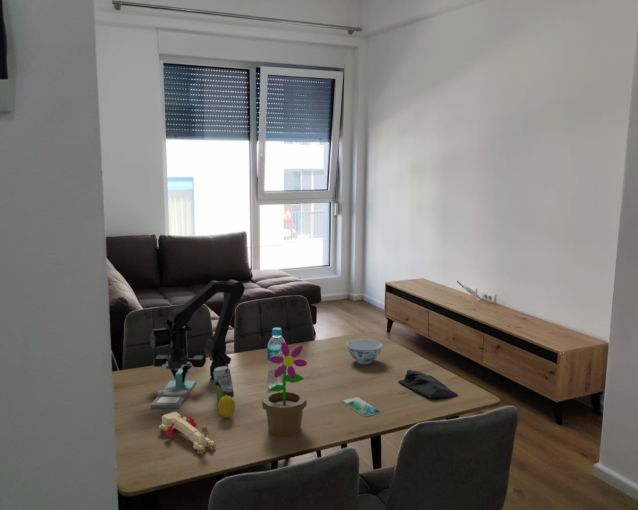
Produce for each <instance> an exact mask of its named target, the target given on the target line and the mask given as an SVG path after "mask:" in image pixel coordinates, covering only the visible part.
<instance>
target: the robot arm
mask: <svg viewBox="0 0 638 510" xmlns="http://www.w3.org/2000/svg"><path fill="white" fill-rule="evenodd" d="M218 293H223V294H222V295H223V303H222V308H221V311H220V314H219V317H218V320H217V324H216V328H215V330H214V333H213V336H212V337H211V338H210V339H209V338H207V339H206V343H205V345H204V347H203V349H204V354H205V355H206V356H205V355H194V357H191V358H190V357H189V353H188V346H189V345H188V338H187V335H188V332H189V331H192V330H193V328H191V326H189V324H188V323H189V322H190V321H191V320H192V318H193V316H194V314H195V313H196V312H197V311H199V309H200V308H201V307H202V306H203V305H204V304H206V303H207V302H208V301H209V300H210V299H211V298H213V297H214V296H215V295H216V294H218ZM244 293H245V285H244V284H243V283H242V282H241V281H238V280H235V279H229V280H227V281H223V280H210V282H208V284H207V285H206V286H204V287H203V288H202V289H201V290H200V291H199V292H197V293H196V294H195V295H194V296H193V297H191V299H189V300H188V301H187V302H185V303H184V304H182V305H181V304H180V305H179V306H177V307H175V308H173V309H172V310H170V311H169V312H168V316H167V319H166V321H165V322H164V324H163V325H162V328H153V329H151V333H150V336H149V343H150V346H151V347H152V349H157V348H162V347H167V346H170V345H171V347H170V353H169V355H168V354H158V355H157V356H156V357H155V358H154V359H153V361H152V362H153V364H152V365H153V367H154V368H155V367H156V368H157V367H162V366H163V365H164V364H166V366H165V368H166V369H167V370H170V371H171V373H172V375H173V378H174V379H175V374H176V373H177V372H178V370H179V369H183V383H184V382H185V381H186V378H187V376H188V373H189V370H191V368H192V367H193V368H203V367H204V366H205V364H206V362H207V359H206V357H207V358H208V359H209V361H211V363H210V366H209V375H210V380H214V376H213V372H214V369H215V368H217V367H221V366H227V367H228V369H229V365H230V364H231V362H232V358H231V357H230V356H229V355H227V354H226V352H227V343H226V339H227V335H228V332H229V329H230V325H231V321H232V319H233V315H234V311H235V309H236V306H237V304H238V303H239V301H240V300H241V299H242V297H243V295H244ZM188 357H189V358H188ZM229 370H230V369H229Z"/></svg>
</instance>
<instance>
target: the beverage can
mask: <svg viewBox="0 0 638 510" xmlns="http://www.w3.org/2000/svg"><path fill="white" fill-rule="evenodd" d="M213 376H214V379H213V381H214V387H215V393H216V399H217V400H218V401H219V400H220V399H221V398H222V397H223V396H225V395H227V396H230V397H232V398H234V397H235V394H234V393H235V392H234V387H233V380H232V374H231V369H228V367H227V366H221V367H217V368H215V369H214V372H213Z"/></svg>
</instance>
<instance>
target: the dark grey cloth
mask: <svg viewBox="0 0 638 510" xmlns="http://www.w3.org/2000/svg"><path fill="white" fill-rule="evenodd" d="M397 382H398V383H399V382H400V383H399V384H401V385H403V386H405V388H408V389H409V390H413V391H414V392H416V393H417V394H420V395H422V396H423V397H426V398H428V399H434V398H437V399H438V398H454V397H457V396H459V394H458V393H457V392H455V391H453V390H451V389H450V388H449V387H447V386H446V385H445V384H444V383H443V382H442V381H440V380H438V379H437V378H436V377H434V376H432V375H430V374H426V373H424V372H421V371H418V370H411V369H407V371H406V374H405V376H404V379H400V380H398V381H397Z"/></svg>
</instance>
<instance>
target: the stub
mask: <svg viewBox="0 0 638 510" xmlns="http://www.w3.org/2000/svg"><path fill="white" fill-rule="evenodd" d="M196 384H197V381H196V380H185V382H184V383H183V369H182V368H179V369H178V372H177V373H176V374H175V378H174V380H170V381H168V383H167V384H166V386H165V387H176V388H191V391H192V389H193V388H194V387H195V385H196Z"/></svg>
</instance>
